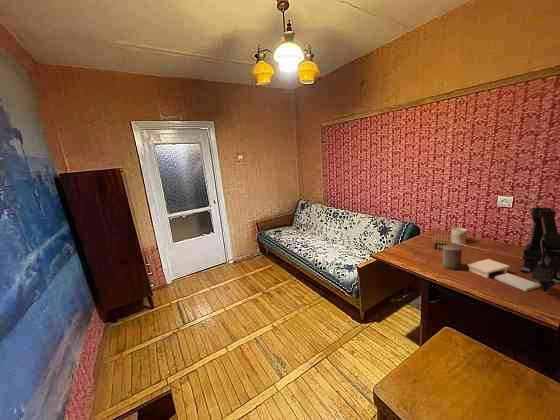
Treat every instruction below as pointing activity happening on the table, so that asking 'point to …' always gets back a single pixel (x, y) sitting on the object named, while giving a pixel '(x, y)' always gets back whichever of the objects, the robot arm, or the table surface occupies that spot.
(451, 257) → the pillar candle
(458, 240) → the mug
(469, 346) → the table surface
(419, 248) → the table surface
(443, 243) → the ammunition clip
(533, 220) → the robot arm
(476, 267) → the cream rectangular slab
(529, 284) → the pale wall plate
